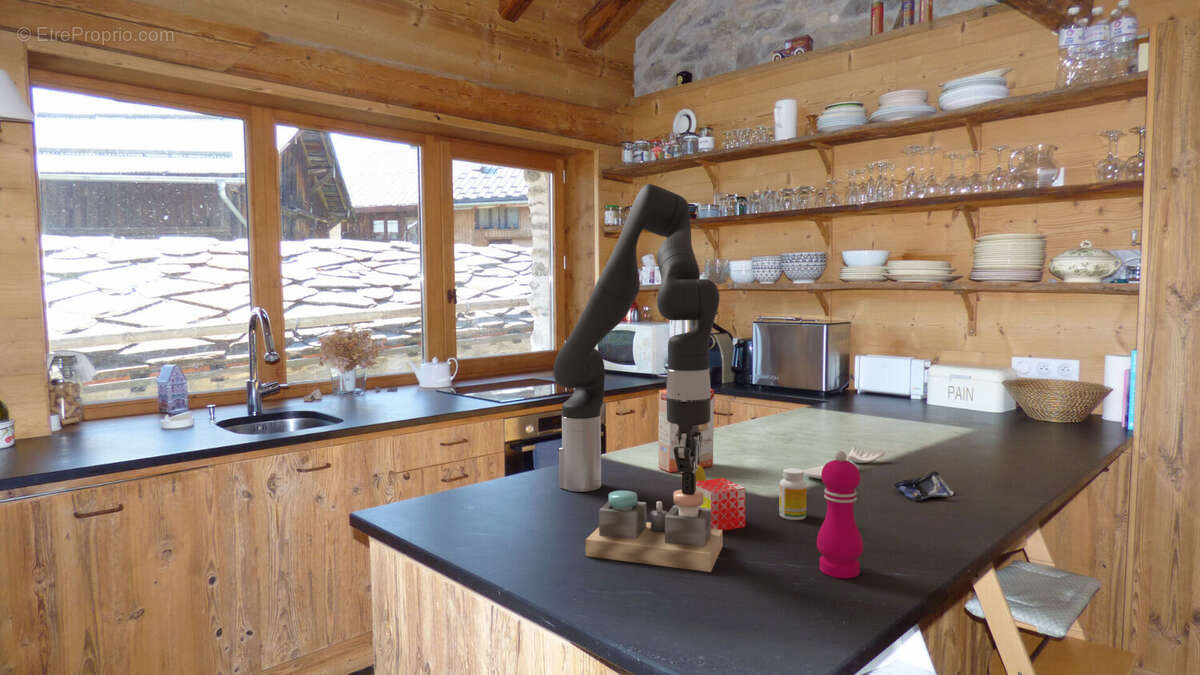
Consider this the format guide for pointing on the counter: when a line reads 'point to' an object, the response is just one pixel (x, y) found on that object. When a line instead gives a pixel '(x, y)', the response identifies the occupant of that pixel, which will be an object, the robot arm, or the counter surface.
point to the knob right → (688, 503)
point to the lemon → (699, 474)
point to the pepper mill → (840, 520)
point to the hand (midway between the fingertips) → (688, 493)
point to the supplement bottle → (792, 495)
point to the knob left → (623, 500)
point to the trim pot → (658, 519)
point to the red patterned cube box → (723, 503)
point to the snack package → (924, 487)
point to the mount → (656, 538)
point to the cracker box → (670, 430)
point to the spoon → (852, 456)
